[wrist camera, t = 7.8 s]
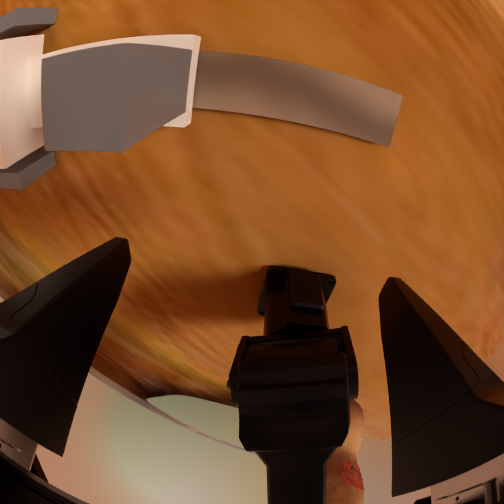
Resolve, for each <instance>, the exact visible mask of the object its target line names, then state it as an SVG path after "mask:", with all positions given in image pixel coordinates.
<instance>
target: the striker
mask: <svg viewBox="0 0 504 504" xmlns="http://www.w3.org/2000/svg"><path fill="white" fill-rule="evenodd" d="M200 40H201V37H200V36H197V35H154V36H140V37H129V38H121V39H113V40H106V41H100V42H94V43H89V44H83V45H79V46H74V47H70V48H65V49H61V50H57V51H54V52H50V53H46V54H43V43H44V35H32V36H23V37H16V38H9V39H3V40H0V169H6V168H8V167H9V166H11V165H12V164H14V163H15V162H17V161H19V160H20V159H22V158H23V157H25V156H27V155H28V154H30V153H31V152H33V151H35V150H37V149H38V148H40V147H42V146H43V145H44V146H45V151H98V152H120V153H123V152H124V151H125V150H127V149H128V148H130V147H131V146H133V145H134V144H136V143H137V142H138V141H140V140H141V139H143V138H144V137H146V136H148V135H149V134H151V133H152V132H154V131H155V130H157V129H158V128H160V127H162V126H170V127H183V128H184V127H186V126H187V125H188V124H190V123H191V116H192V105H193V95H194V86H195V78H196V69H197V62H198V54H199V47H200Z"/></svg>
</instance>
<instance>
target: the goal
mask: <svg viewBox="0 0 504 504" xmlns="http://www.w3.org/2000/svg"><path fill="white" fill-rule="evenodd" d="M56 15H57V9H56V8H16V9H15V10H13V11H11V12H9V13H7V14H6V15H4V16H2V17H0V40H3V39H9V38H16V37H21V36H24V35H26V34H28V33H31V32H33V31H36V30H39V29H41V28H44V27H47V26H50V25H53V24H55V22H56ZM54 166H56V159H55V151H45V150H35V151H33V152H31V153H30V154H28V155H27V156H25V157H23V158H22V159H20V160H19V161H17V162H15V163H14V164H12V165H11V166H9V167H8V168H6V169H0V188H4V189H16V190H23V189H24V188H25V187H27V186H28V185H29V184H31V183H32V182H33V181H35V180H36V179H37V178H39V177H40V176H41V175H43V174H44V173H46V172H47V171H48V170H50V169H51V168H53V167H54Z"/></svg>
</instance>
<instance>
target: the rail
mask: <svg viewBox="0 0 504 504" xmlns="http://www.w3.org/2000/svg"><path fill="white" fill-rule="evenodd" d="M402 99H403V95H400V94H398V93H395V92H393V91H390V90H387V89H385V88H382V87H379V86H377V85H374V84H371V83H368V82H365V81H362V80H359V79H356V78H352V77H349V76H346V75H342V74H339V73H335V72H332V71H328V70H324V69H320V68H316V67H312V66H307V65H303V64H298V63H293V62H288V61H283V60H277V59H271V58H265V57H258V56H251V55H242V54H233V53H221V52H206V51H199V54H198V62H197V69H196V78H195V86H194V95H193V105H192V108H201V109H212V110H221V111H230V112H237V113H245V114H251V115H258V116H264V117H270V118H275V119H281V120H286V121H291V122H296V123H301V124H305V125H310V126H314V127H319V128H323V129H327V130H331V131H335V132H339V133H342V134H346V135H350V136H353V137H357V138H360V139H364V140H367V141H370V142H373V143H377V144H380V145H383V146H386V147H389V144H390V141H391V138H392V134H393V131H394V128H395V124H396V121H397V118H398V114H399V110H400V107H401V103H402Z"/></svg>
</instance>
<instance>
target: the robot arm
mask: <svg viewBox="0 0 504 504" xmlns="http://www.w3.org/2000/svg"><path fill="white" fill-rule="evenodd" d="M130 264H131V255H130V249H129V243H128V240H127V239H126V238H120V237H115V238H113V239H112V240H110V241H108V242H106V243H104V244H102V245H100V246H98V247H96V248H95V249H93V250H91V251H89V252H87V253H85V254H84V255H82V256H80V257H78V258H76V259H75V260H73V261H71V262H69V263H68V264H66V265H64V266H62V267H61V268H59V269H57V270H56V271H54V272H52V273H50V274H49V275H47V276H45V277H44V278H42V279H40V280H39V282H35V283H34V284H32V285H31V286H29V287H27V288H26V289H24V290H22V291H21V292H19V293H17V294H16V295H14V296H12V297H10V298H9V299H7V300H5V301H3V302H2V303H0V504H89V503H86V502H84V501H82V500H80V499H78V498H76V497H74V496H72V495H70V494H67V493H66V492H64V491H62V490H60V489H58V488H56V487H55V486H53V485H51V484H49V483H48V481H47V478H46V476H45V474H44V472H43V470H42V467H41V465H40V463H39V460H38V458H37V455H36V450H37V447H38V444H39V445H41V446H43V447H44V448H46V449H48V450H50V451H52V452H54V453H56V454H57V455H59V456H61V457H62V456H63V454H64V450H65V446H66V442H67V438H68V435H69V431H70V428H71V424H72V421H73V417H74V414H75V411H76V408H77V404H78V401H79V398H80V395H81V392H82V389H83V386H84V383H85V380H86V378H87V375H88V372H89V369H90V367H91V364H92V361H93V359H94V356H95V354H96V351H97V348H98V346H99V343H100V341H101V339H102V336H103V334H104V331H105V329H106V327H107V324H108V322H109V320H110V317H111V315H112V313H113V310H114V308H115V306H116V304H117V301H118V298H119V296H120V293H121V290H122V287H123V284H124V281H125V278H126V275H127V272H128V270H129V267H130ZM271 271H274V272H271ZM330 280H332V281H330ZM335 284H336V278H335V276H333V275H326V274H320V273H314V272H307V271H301V270H295V269H288V268H282V267H276V266H271V267H269V268H268V269H267V273H266V278H265V282H264V286H263V289H262V293H261V297H260V301H259V305H258V310H257V313H258V314H259V315H261V316H265V318H264V335H263V336H253V337H249V336H242V338H241V341H240V344H239V345H238V348H237V351H236V355H235V358H234V361H233V364H232V367H231V370H230V373H229V379H228V381H227V388H228V389H229V390H230V391H231V396H232V400H233V403H234V405H235V406H236V407H239V439H240V441H241V443H242V444H243V446H244V448H245V450H246V451H252V452H256V454H257V455H258V456H259V458H260V459H261V460H262V461H263V463H264V464H265V465H266V467H267V492H268V504H326V478H327V462H328V461H329V459H330V458H331V456H332V455H333V453H334V452H335V450H336V449H337V447H341V446H342V445H343V443H344V441H345V439H346V437H347V435H348V433H349V427H350V400H353V399H357V397H358V369H357V362H356V357H355V353H354V349H353V345H352V341H351V338H350V334H349V330H348V327H347V326H342V327H341V328H335V329H329V324H328V317H327V310H326V303H327V301H328V299H329V297H330V295H331V293H332V291H333V289H334V286H335ZM379 311H380V326H381V338H382V345H383V352H384V359H385V366H386V374H387V383H388V393H389V404H390V416H391V434H392V497H394V496H399V495H403V494H406V493H410V492H414V491H416V490H420V489H423V488H426V487H429V486H430V491H431V496H428V497H425V498H422V499H419V500H416V501H415V503H414V504H504V382H503V381H502V380H501V379H500V378H499V377H498V376H497V375H496V374H495V373H494V372H493V371H492V370H491V369H490V368H489V367H488V366H487V365H486V364H485V363H484V362H483V361H482V360H481V359H480V358H479V357H478V356H477V355H476V354H475V353H474V352H473V350H472V349H471V348H470V347H469V346H468V345H467V344H466V343H465V342H464V341H463V340H461V338H460V337H459V336H458V335H457V334H456V332H455V331H454V330H453V329H452V328H451V327H450V326H449V325H448V324H447V323H446V322H445V321H444V320H443V319H442V318H441V317H440V316H439V315H438V314H437V313H436V312H435V311H434V310H433V309H432V308H431V307H430V306H429V305H428V304H427V303H426V302H425V301H424V300H423V299H422V298H421V297H419V296H418V295H417V294H416V293H415V292H414V291H413V290H412V289H411V288H410V287H409V286H408V285H407V284H406V283H405V282H404V281H402V280H401V279H400V278H397V277H389V278H388V279H387V281H386V283H385V284H384V286H383V288H382V290H381V292H380V294H379Z"/></svg>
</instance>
